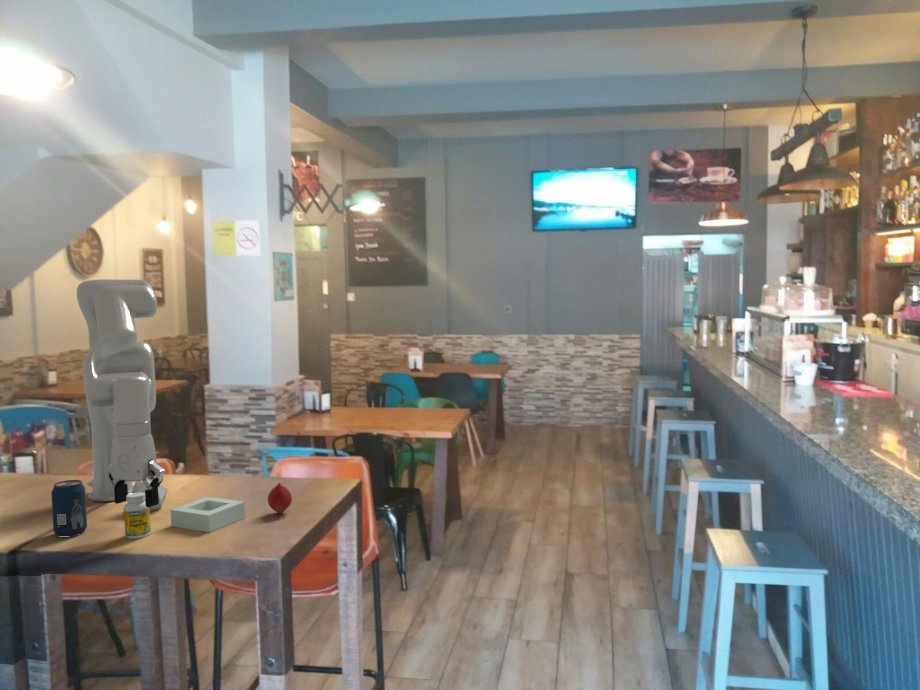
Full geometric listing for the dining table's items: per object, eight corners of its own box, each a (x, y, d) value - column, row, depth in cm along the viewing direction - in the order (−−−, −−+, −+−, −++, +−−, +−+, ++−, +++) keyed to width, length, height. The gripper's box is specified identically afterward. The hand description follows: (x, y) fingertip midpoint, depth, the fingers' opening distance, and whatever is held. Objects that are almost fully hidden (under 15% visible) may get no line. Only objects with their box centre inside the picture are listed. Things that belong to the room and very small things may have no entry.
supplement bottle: (148, 530, 171) (146, 490, 171) (152, 536, 167) (150, 495, 166) (123, 534, 168) (121, 493, 168) (127, 541, 164) (125, 499, 163)
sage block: (171, 526, 174) (170, 509, 174) (208, 512, 185) (207, 496, 185) (209, 532, 169) (209, 515, 169) (245, 517, 180) (244, 501, 180)
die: (168, 514, 186) (176, 479, 191) (138, 504, 180) (147, 468, 185) (150, 521, 190) (158, 486, 195) (119, 512, 184) (128, 476, 190)
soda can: (64, 528, 173) (61, 479, 172) (93, 528, 173) (90, 479, 172) (47, 538, 166) (44, 487, 166) (77, 538, 166) (74, 486, 165)
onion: (263, 513, 183) (262, 482, 182) (283, 508, 187) (282, 478, 186) (276, 518, 179) (275, 486, 178) (296, 513, 183) (295, 481, 182)
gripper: (92, 430, 166) (96, 504, 167) (147, 434, 159) (151, 511, 160) (119, 425, 173) (123, 496, 174) (173, 428, 166) (177, 503, 166)
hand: (136, 503), depth 167 cm, fingers open, 9 cm apart
